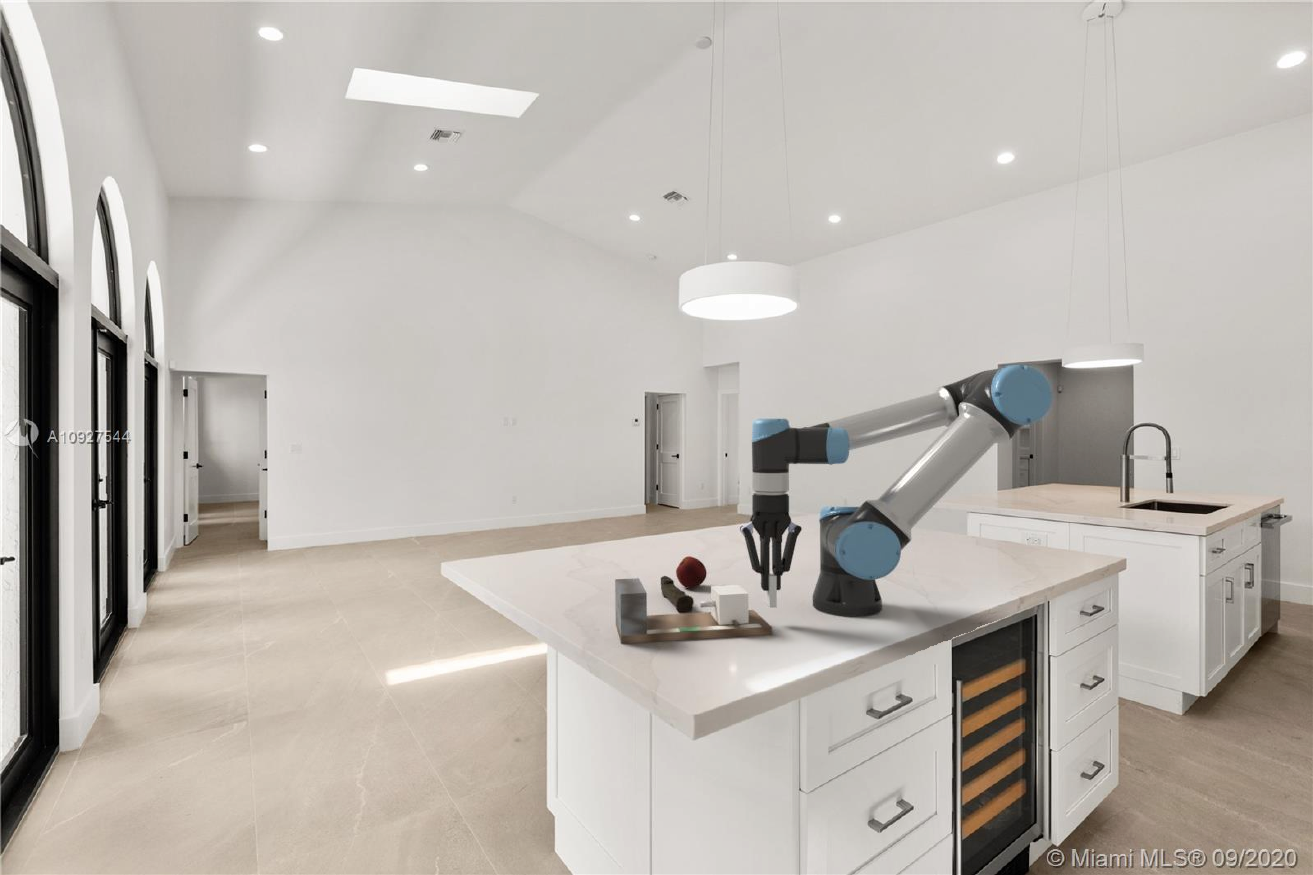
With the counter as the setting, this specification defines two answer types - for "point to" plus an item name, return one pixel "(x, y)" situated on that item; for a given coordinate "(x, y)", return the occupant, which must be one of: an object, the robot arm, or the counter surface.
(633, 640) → the gauge board
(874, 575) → the robot arm
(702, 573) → the apple
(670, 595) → the hand tool
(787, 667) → the counter surface
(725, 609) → the gauge slider
